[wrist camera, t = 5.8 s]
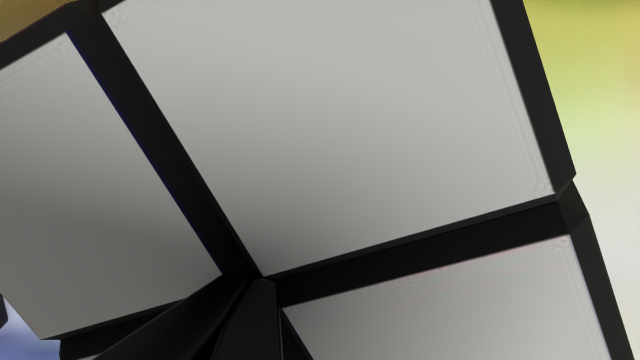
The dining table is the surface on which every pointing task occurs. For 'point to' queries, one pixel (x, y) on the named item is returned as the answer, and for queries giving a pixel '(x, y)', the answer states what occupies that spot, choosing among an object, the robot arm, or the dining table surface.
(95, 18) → the puzzle cube
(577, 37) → the dining table surface
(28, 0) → the dining table surface
